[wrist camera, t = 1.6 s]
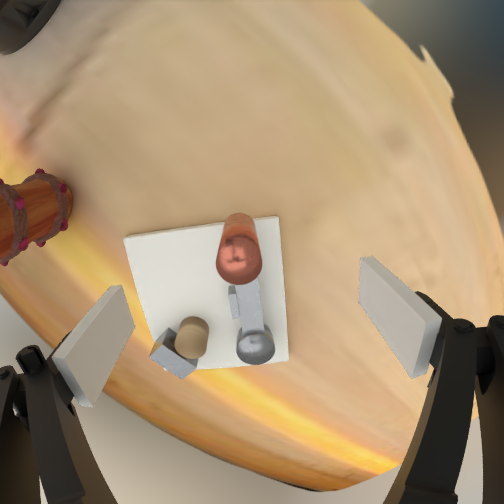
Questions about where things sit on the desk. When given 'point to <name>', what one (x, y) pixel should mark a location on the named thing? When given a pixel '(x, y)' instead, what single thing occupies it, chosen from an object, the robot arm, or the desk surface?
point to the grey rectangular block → (171, 355)
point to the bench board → (205, 286)
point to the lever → (245, 287)
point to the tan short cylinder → (192, 337)
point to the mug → (32, 212)
